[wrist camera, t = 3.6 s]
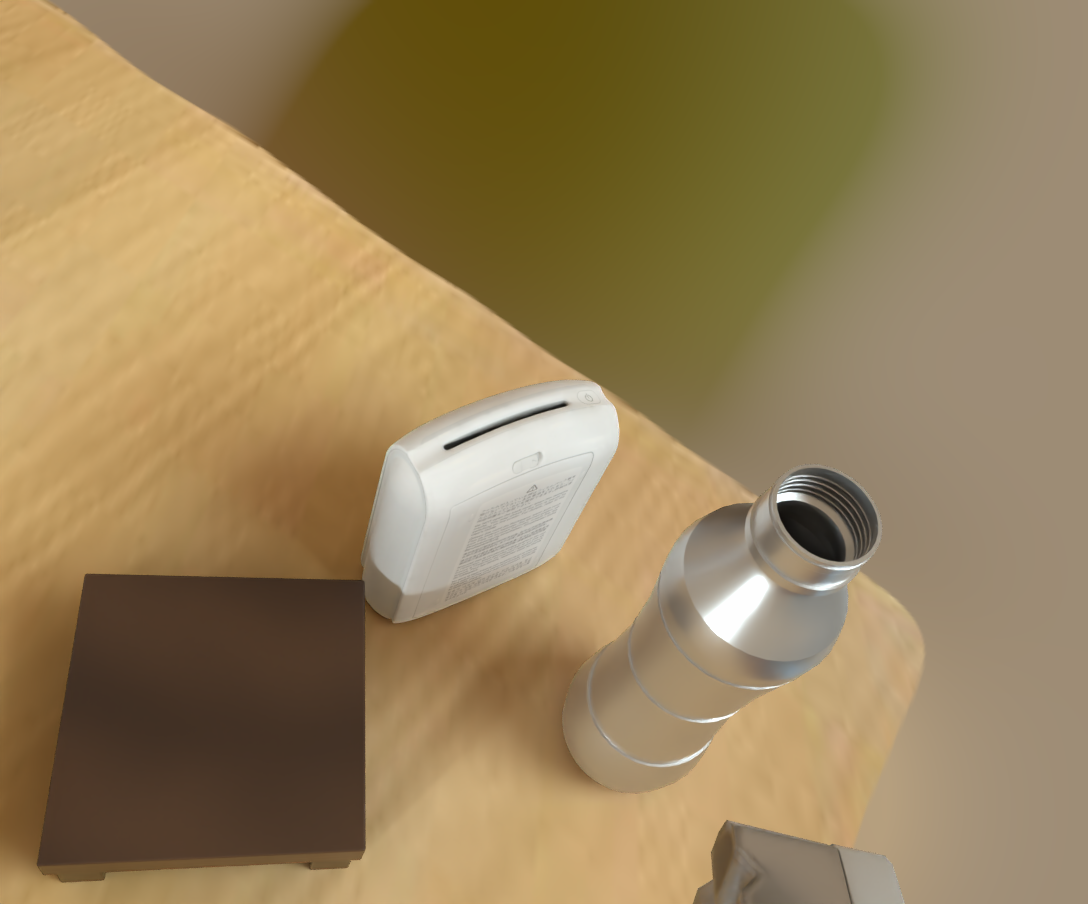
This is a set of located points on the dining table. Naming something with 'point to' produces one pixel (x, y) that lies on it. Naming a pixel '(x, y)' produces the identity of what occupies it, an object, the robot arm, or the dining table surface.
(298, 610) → the walnut riser
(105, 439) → the dining table surface
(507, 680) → the dining table surface
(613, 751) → the aluminum water bottle
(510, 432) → the photo printer
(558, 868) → the dining table surface
